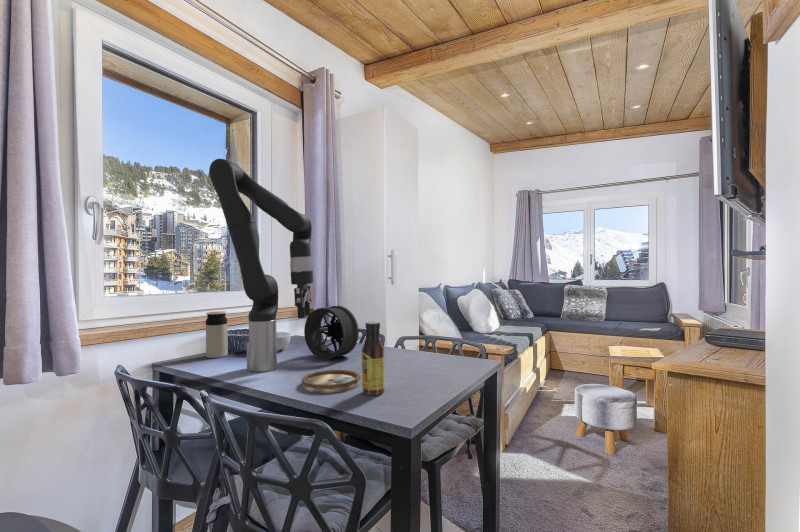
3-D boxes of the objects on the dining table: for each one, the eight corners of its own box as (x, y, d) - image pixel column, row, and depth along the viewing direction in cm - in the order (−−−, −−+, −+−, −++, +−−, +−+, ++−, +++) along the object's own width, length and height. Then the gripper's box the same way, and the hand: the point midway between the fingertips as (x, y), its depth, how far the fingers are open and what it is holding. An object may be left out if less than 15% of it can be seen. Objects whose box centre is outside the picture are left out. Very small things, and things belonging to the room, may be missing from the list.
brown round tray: (294, 392, 114) (294, 385, 114) (312, 376, 131) (312, 369, 131) (353, 393, 112) (353, 385, 112) (364, 376, 129) (363, 369, 129)
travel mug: (225, 357, 160) (224, 312, 161) (203, 359, 159) (203, 313, 159) (229, 353, 168) (229, 310, 168) (209, 354, 167) (208, 311, 167)
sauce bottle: (362, 389, 115) (361, 320, 115) (384, 388, 116) (383, 320, 116) (362, 397, 109) (361, 323, 109) (385, 396, 109) (384, 323, 109)
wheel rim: (359, 357, 157) (358, 306, 157) (344, 362, 149) (343, 308, 149) (320, 352, 167) (319, 304, 167) (304, 357, 159) (303, 306, 159)
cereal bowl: (284, 354, 165) (284, 337, 165) (243, 355, 165) (243, 338, 165) (295, 346, 182) (294, 330, 182) (258, 347, 182) (258, 331, 182)
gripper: (295, 270, 147) (298, 315, 147) (285, 271, 133) (288, 320, 133) (316, 269, 147) (319, 313, 147) (307, 269, 133) (310, 318, 133)
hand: (304, 316), depth 140 cm, fingers open, 8 cm apart
